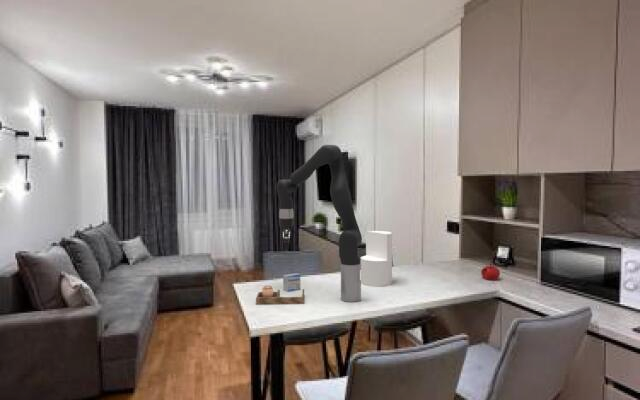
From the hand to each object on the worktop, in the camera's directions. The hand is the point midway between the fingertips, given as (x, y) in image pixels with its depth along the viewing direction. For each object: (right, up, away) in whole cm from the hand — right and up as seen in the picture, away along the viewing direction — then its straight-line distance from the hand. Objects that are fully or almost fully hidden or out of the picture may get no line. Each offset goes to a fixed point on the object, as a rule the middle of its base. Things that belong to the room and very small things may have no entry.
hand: (286, 247), depth 199 cm
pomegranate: (+116, -20, +18) cm, 119 cm away
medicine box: (+3, -22, -5) cm, 23 cm away
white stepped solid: (+49, -21, +11) cm, 55 cm away
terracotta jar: (-7, -22, -24) cm, 33 cm away
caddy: (-1, -22, -22) cm, 31 cm away
